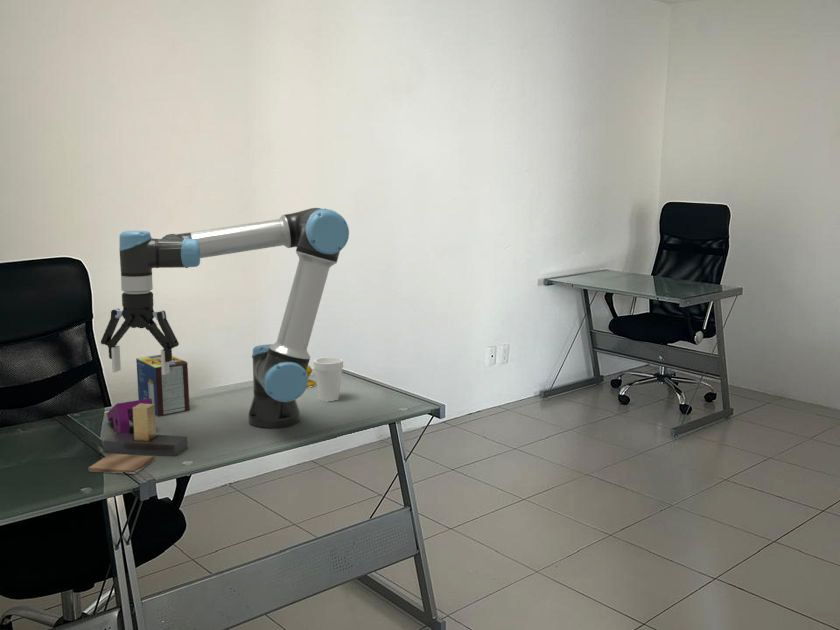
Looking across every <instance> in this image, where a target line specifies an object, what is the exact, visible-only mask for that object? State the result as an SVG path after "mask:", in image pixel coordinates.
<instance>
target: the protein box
mask: <svg viewBox="0 0 840 630" xmlns="http://www.w3.org/2000/svg"><path fill="white" fill-rule="evenodd" d="M135 359H136V360H135V361H136V362H135V363H136V374H137V375H136V376H137V377H136V378H137V380H136V381H137V395H138V396H137V397H138V400H143V399H150V398H151V399H152V404H155V417H157V416H158V417H162V416H166V415H173V414H177V413H182V412H183V413H184V412H189V411H190V409H191V408H190V393H189V391H190V388H189V387H190V386H189V368H188V361H186V360H183V359H181V358H178V357H176V356H174V355H172V360H171V361H170V362H169V373H168V374H166V375H162V366H161V354H157V355H150V356H141V357H136V358H135Z"/></svg>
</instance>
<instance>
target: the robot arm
mask: <svg viewBox="0 0 840 630" xmlns="http://www.w3.org/2000/svg"><path fill="white" fill-rule="evenodd" d="M349 228H350V227H349V225H348V223H347V221H346V219H345V218H344V217H343V216H342V215H341V214H340V213H338V212H337V211H334V210H332V209H328V208H320V207H311V208H307V209H304V210H300V211H297V212H293V213H287V214H281V216H280V217H279V218H278V219H271V220H262V221H257V222H252V223H251V222H249V223H245V224H244V223H243V224H238V225H237V224H236V225H231V226H230V225H229V226H223V227H217V228H211V229H203V230H196V231H190V232H183V233H182V232H181V233H177V234H176V233H168V234H166V235H164V236H162V238H154V237H153V238H152V236H151V232H150V231H148V230H124V231H122V232H121V233H120V234H119V265H120V285H121V286H120V287H121V291H122V294H121V305H122V310H121V309H120V308H115V309H112V310H111V311H110V320H109V322H108V324H107V326H106V329H105V330H104V333H103V335H102V338H101V340H100V343H101V345H105V346H107V348H108V357H109V359H110V360H111V366H112V373H117V372H119V371H121V369H122V366H121V348H120V345H118V343H119V342H120V341H121V340H122V338H123V337H124V336H125V334H126V333H127V331H128V330H129V329H130V328H131V329H135V328H138V329H145V330H147V331H149V333H150V334H151V335H152V337H154V339H155V340H156V341H157V342H158V343H159V345H160V346H161V347H162V349H161V350H160V355H161V366H162V375H166V374H168V373H169V362H170V361H171V360H172V356H173V351H172V350H173V349H174V348H177V347H178V346H179V345H180V343H179V341H178V339H177V337H176V334H175V332H174V331H173V329H172V327H171V325H170V323H169V321H168V320H167V319H168V318H167V313H166V311H165V310H160V311H155V310H154V293H153V289H154V288H153V269H159V268H160V269H162V268H168V269H169V268H170V269H172V268H177V269H178V268H179V269H180V268H185V269H189V268H197V267H198V266H200V263H201V259H203V258H204V259H205V258H212V257H217V256H223V255H231V254H236V253H241V252H242V253H243V252H250V251H257V250H263V249H268V248H275V247H282V246H284V247H286V248H287V249H290V248H296V249H295V253H296V255H297V257H298V263H297V266H296V270H295V274H294V279H293V281H292V284H291V285H292V286H291V288H290V292H289V296H288V299H287V302H286V307H285V311H284V313H283V317H282V320H281V325H280V328H279V331H278V336H277V339H276V342H275V343H273V344H272V343H269V344H268V343H267V344H259V345H256V346H254V347H253V349H252V355H251V358H252V376H253V377H252V379H253V380H252V381H253V382H252V383H253V397H252V401H251V404H250V407H249V410H248V414H247V417H248V418H247V419H248V421H247V422H248V423H249V424H250V426H253V427H259V428H266V429H269V428H270V429H272V428H273V429H275V428H285V427H290V426H292V425H295V424H297V423H299V421H300V420H301V412H300V409H299V407H298V402H297V399H299V398H300V397H301V396H302V395H303V394H305V392H306V389H308V388H307V385H308V379H309V377H308V375H307V372H306V371H307V367H308V365H309V363H310V360H311V356H310V354H309V352H308V347H309V344H310V341H311V340H310V339H311V336H312V333H313V332H312V331H313V328H314V325H315V321H316V317H317V314H318V311H319V307H320V303H321V301H322V296H323V292H324V290H325V285H326V282H327V278H328V274H329V271H330V268H332V266H334V265H335V264H337V263H338V260H339V256H340V252H341V251H342V250H343V249H344V248H345V247H346V245H347V243H348V241H349V238H350V230H349ZM121 318H123V320H124V321H122V322H123V323H122V324H121V325H120V327H119V328H118V330H117V331H116V328H117V326H118V323H119V322H120V319H121ZM154 318H155V320H157V322H158V324H157V323H156V322H155V320H154ZM157 325H159V327H160V329H159V327H158V326H157ZM115 331H116V332H115ZM114 333H115V334H114Z"/></svg>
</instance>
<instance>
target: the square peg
mask: <svg viewBox="0 0 840 630" xmlns="http://www.w3.org/2000/svg"><path fill="white" fill-rule="evenodd" d="M132 421H133V423H132V424H133V433H134V441H139V442H151V441H152V440H153V439H155V438H156V435H157V427H156V426H157V425H156V415H155V404H143V403H140V404H138V405H137V406H135V407H133V418H132Z"/></svg>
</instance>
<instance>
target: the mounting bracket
mask: <svg viewBox="0 0 840 630" xmlns="http://www.w3.org/2000/svg"><path fill="white" fill-rule="evenodd" d="M140 403H143V404H152V399H151V398H150V399H143V400H139V399H138V400H131V401H130V400H129V401H125V402H119V403H118V402H117V403H116V404H115V405H114V406H112V407H111V408H110V409H109V411H108V412H106V415H107V421H109V422H113V428H114V431H115V433H117V432H121V433H130V419H133V407H135V406H137V405H138V404H140Z"/></svg>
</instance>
